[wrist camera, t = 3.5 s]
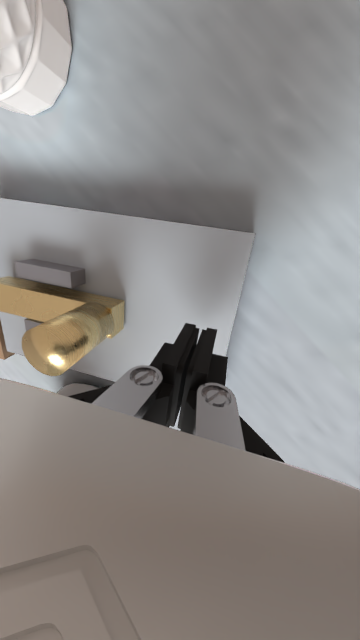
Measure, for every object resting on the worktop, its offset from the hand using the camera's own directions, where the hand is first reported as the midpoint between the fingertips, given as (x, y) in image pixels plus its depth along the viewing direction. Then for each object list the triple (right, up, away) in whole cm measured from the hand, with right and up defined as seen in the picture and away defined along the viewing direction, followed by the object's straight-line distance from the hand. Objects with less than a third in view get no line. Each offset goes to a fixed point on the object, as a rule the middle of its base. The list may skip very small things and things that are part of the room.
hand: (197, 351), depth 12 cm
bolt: (-9, +3, +4) cm, 10 cm away
